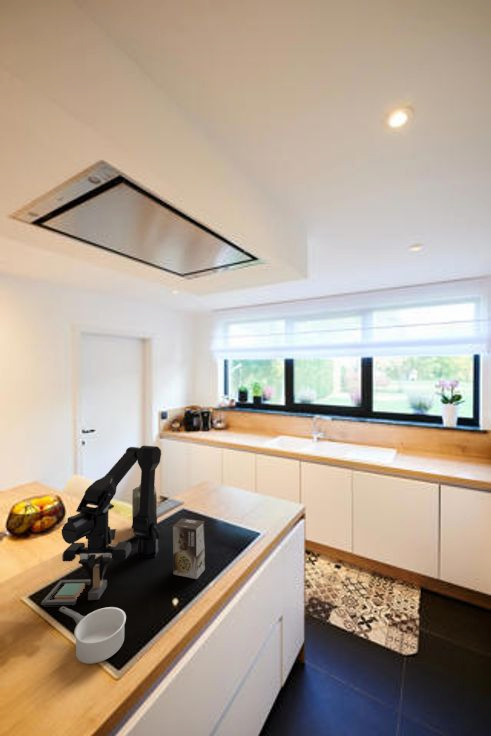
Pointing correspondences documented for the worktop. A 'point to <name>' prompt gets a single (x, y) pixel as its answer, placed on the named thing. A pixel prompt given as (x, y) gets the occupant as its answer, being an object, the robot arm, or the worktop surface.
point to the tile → (70, 591)
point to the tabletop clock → (137, 500)
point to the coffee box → (188, 548)
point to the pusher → (97, 585)
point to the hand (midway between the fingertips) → (97, 579)
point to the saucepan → (98, 633)
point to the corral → (62, 601)
